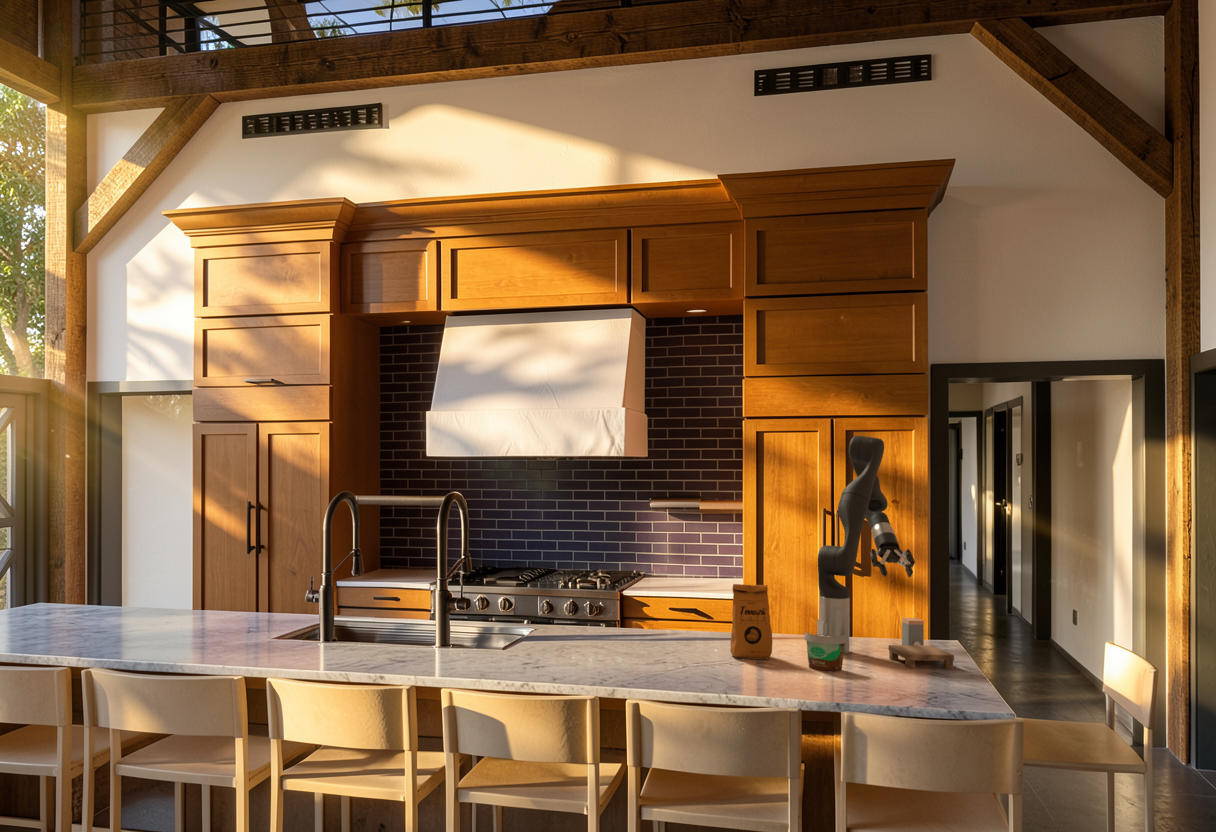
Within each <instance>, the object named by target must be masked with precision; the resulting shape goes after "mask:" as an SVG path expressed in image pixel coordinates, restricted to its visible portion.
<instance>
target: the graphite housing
mask: <svg viewBox="0 0 1216 832" xmlns="http://www.w3.org/2000/svg"><path fill="white" fill-rule="evenodd" d="M924 625H925V623H924V620H922V619H920V618H918V617H901V645H921V646H925V643H924V642H925V641H924V640H925V639H924V635H925V633H924V630H925V629H924V627H925V626H924Z"/></svg>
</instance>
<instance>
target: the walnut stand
mask: <svg viewBox="0 0 1216 832" xmlns="http://www.w3.org/2000/svg"><path fill="white" fill-rule="evenodd" d="M888 651H889V653H888V654H889V655H888V656H889V660H891V661H899V657H901V658H903V659H904V660H905V661H904V662H905V663H904V664H905V665H904V666H905V668H906V669H908V670H910V669H911V670H913V669H914V670H915V668H916V665H915V663H916V662H915V661H943V663H942V664H943V665H942V666H943V669H946V670H954V661H955V655H954V654H952V653H950V652H948V651H946V650H944V649H941V648H939V647H937V646H934V645H924V646H921V645H902V644H901V645H900V644H898V645H897V644H895V645H894V644H893V645H892V644H889V645H888Z"/></svg>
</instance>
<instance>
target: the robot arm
mask: <svg viewBox="0 0 1216 832" xmlns="http://www.w3.org/2000/svg"><path fill="white" fill-rule="evenodd" d="M884 453H885V442H884V440H883V439H881V438H879V437H878V438H877V437H873V436H872V437H871V436H863V435H854V436H853V437H852V438H851V440H850V441H849V446H848V457H849V460H850V462H851V466H852V469H853V471H854V473H855V475H856V477H855V479H853V480H852V481H851V482H849V484H847V485H846V486H845V488H844V489H843V490H842V492H841V494H840V498H839V502H838V506H837V513H838V517H839V520H840V522H841V525H842V527H843V529H844V533H845V535H844V537H845V538H844V542H843V545H842V546H838V545H827V544H826V545H822V546H821V547H820V548H819V551H818V554H817V576H818V577H817V581H818V584H817V585H818V589H819V618H818V619H817V621H816V624H817V625H816V626H817V628H816V629H817V630H816V631H817V632H816V635H829V636H833V637H837V636H844V635H845V637H846V639H847V643H845V645H844V654H843V655H846V654H850V610H851V609H850V608H851V607H850V603H851V602H850V600H851V599H850V598H851V596H850V595H851V594H850V588H848V587H846V586H845V585H843V584H841V583H840V582H838V581H837V580H836V578H835V577H836V576H839V577H850V576H851V575H852V574H853V572H854V570H855V567H856V563H857V558H858V551H859V546H860V540H861V535H862V530H863V526H864V523H865V520H866V521H867V523H868V525H869V528H870V531H871V534H872V540H873V542H874V544H875V547H876V549H875V548H871V549H870V553H869V556H870V557H869V558H870V560H871V563H872V565H871V566H872V567H874V568H876V567H877V568H878V569H879V571H880V575H882V576H883V577H884V578H885V577H887V575H888V571H887V568H886V565H885V563H887V564H892V563H894V564H898V565H899V566H902V567H904V569H905V572H906V575H907V577H908V578H911V577H912V575H913V573H914V570H913V567H914V566H915V564H916V560H915V558H914V555H913V554H912V552H911V550H910V549H906V550H901V548H900V543H899V542H898V538H897V536H896V533H895V531H894V528H893V527H892V525H891V522H890V519H889V517H888V515H887V514H886V513H885V512H884V511H886V510H887V508H888V507H889V504H888V499H887V498H886V495H885V494H884V492H882V490H881V482H880V478H879V475H878V472H879V469H880V467H881V463H882V460H883V457H884ZM878 557H879V558H881V560H880V561H879V560H878Z"/></svg>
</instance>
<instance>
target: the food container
mask: <svg viewBox="0 0 1216 832" xmlns="http://www.w3.org/2000/svg"><path fill="white" fill-rule="evenodd" d="M803 640H805V642H806V650H807V663H808V668H809V669H811V670H813V671H819V672H827V673H831V672H832V673H833V672H834V673H835V672H840V671H842V670H843V660H844V655H845V654H844V645H845V643H847V639H846V637H845V635H844V636H837V637H833V636H829V635H817V634H812V633H809V632H808V631H807V630H805V633H804V636H803Z"/></svg>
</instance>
